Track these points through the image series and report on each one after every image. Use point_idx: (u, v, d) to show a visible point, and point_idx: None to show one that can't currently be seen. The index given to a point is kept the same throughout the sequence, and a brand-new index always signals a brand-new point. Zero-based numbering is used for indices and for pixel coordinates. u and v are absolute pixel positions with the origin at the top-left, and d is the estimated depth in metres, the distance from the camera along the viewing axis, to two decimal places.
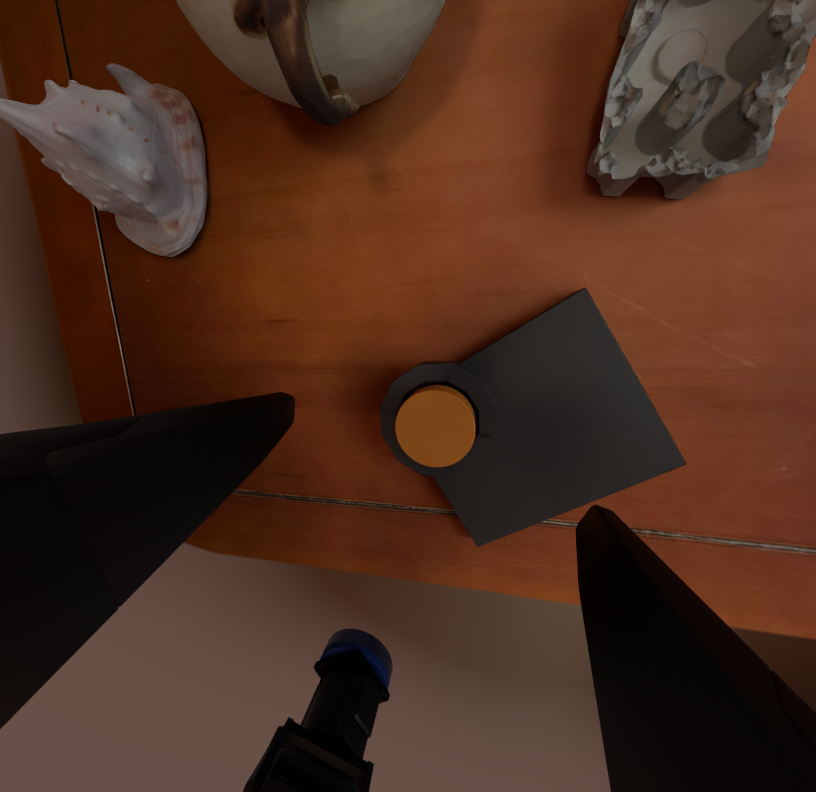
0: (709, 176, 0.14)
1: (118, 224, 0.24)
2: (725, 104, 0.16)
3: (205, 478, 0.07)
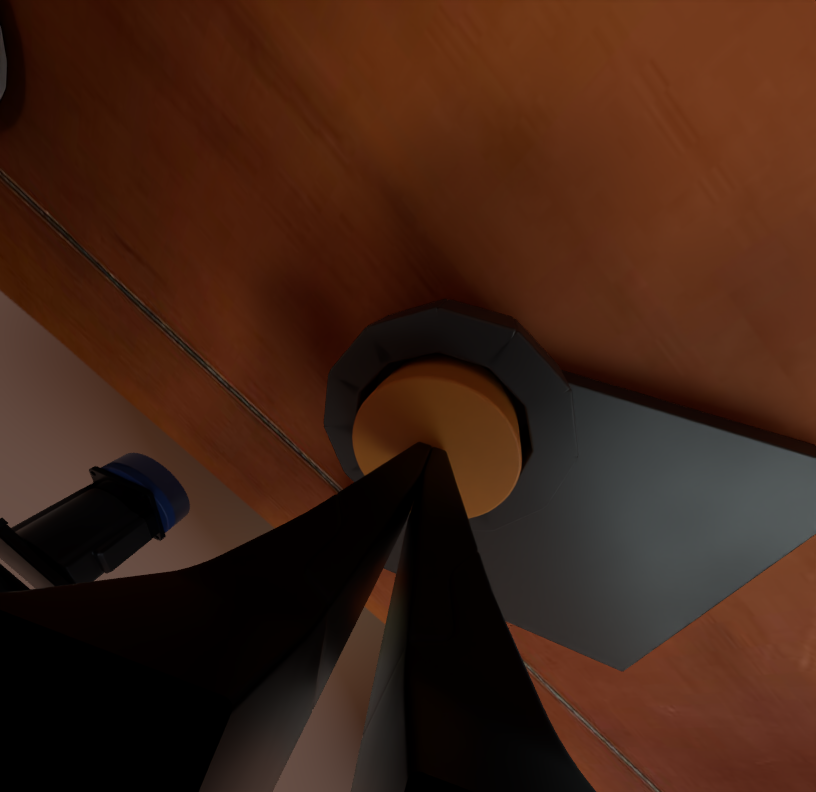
0: None
1: None
2: None
3: (383, 554, 0.06)
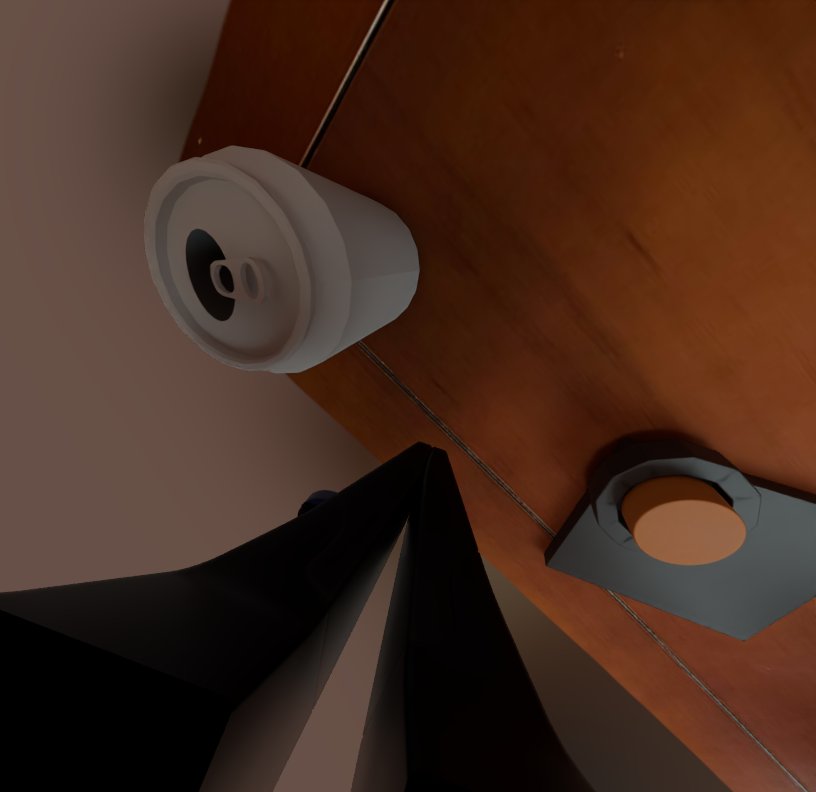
0: None
1: None
2: None
3: (383, 554, 0.06)
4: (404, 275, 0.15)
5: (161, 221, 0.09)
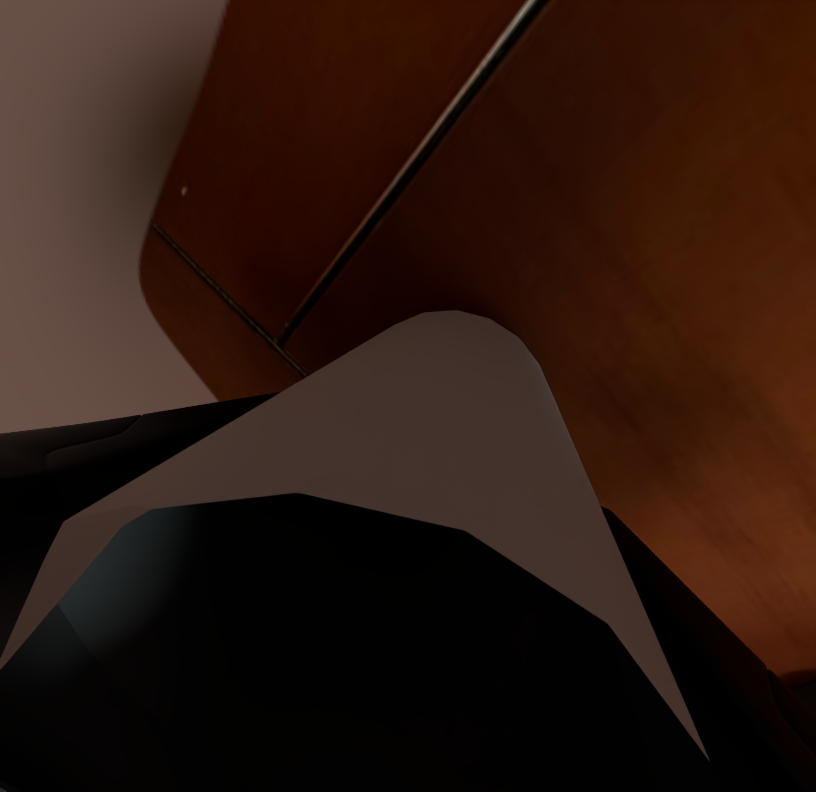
0: None
1: None
2: None
3: None
4: None
5: None
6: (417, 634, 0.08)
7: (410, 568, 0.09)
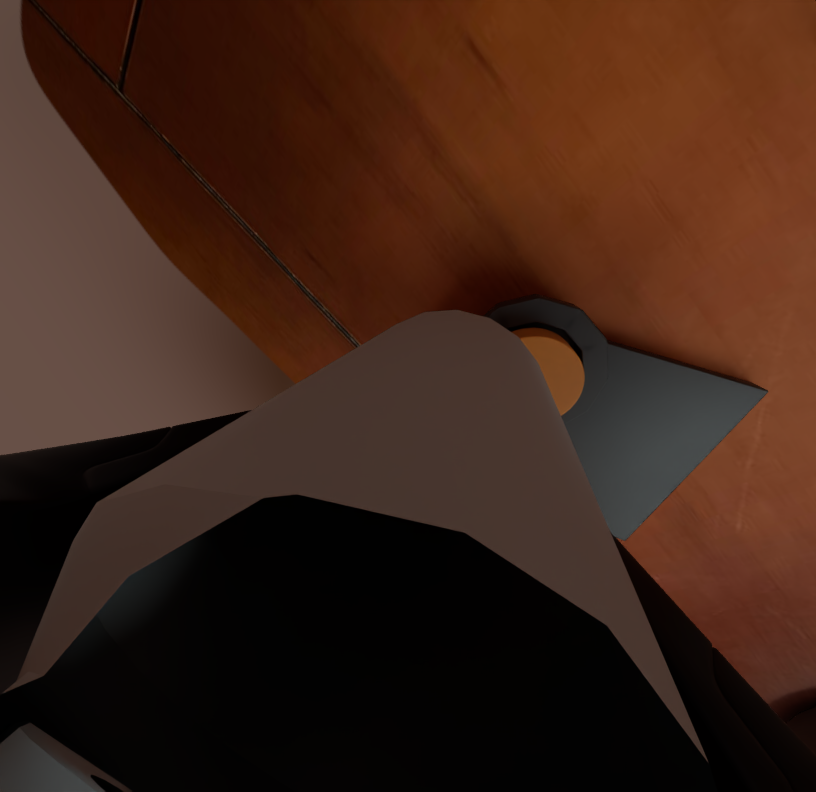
0: None
1: None
2: None
3: None
4: None
5: None
6: (419, 624, 0.08)
7: (412, 562, 0.10)
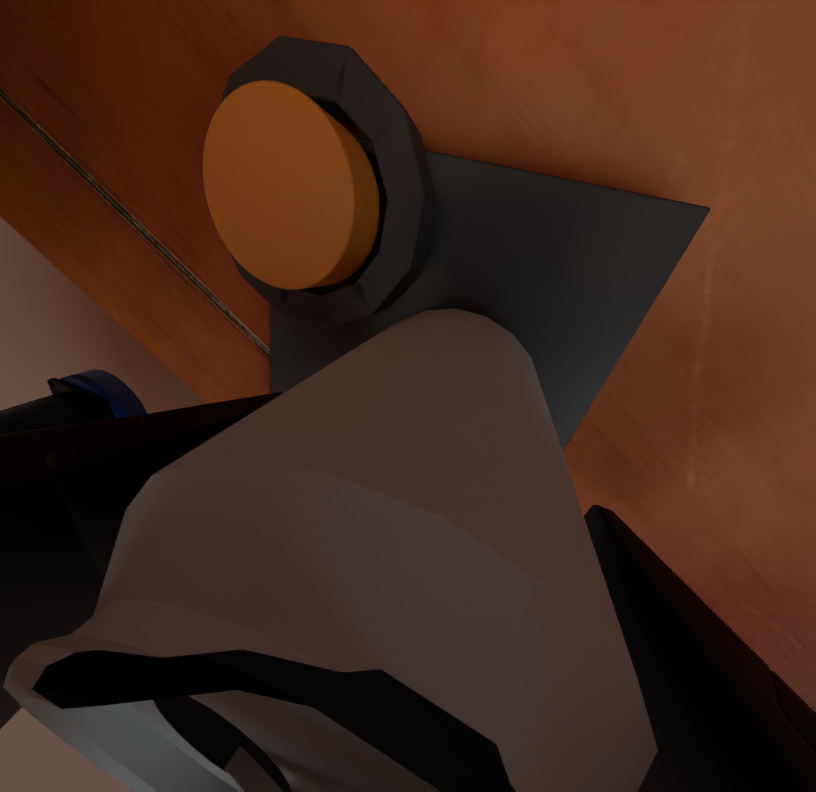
0: None
1: None
2: None
3: None
4: None
5: (69, 672, 0.03)
6: None
7: None
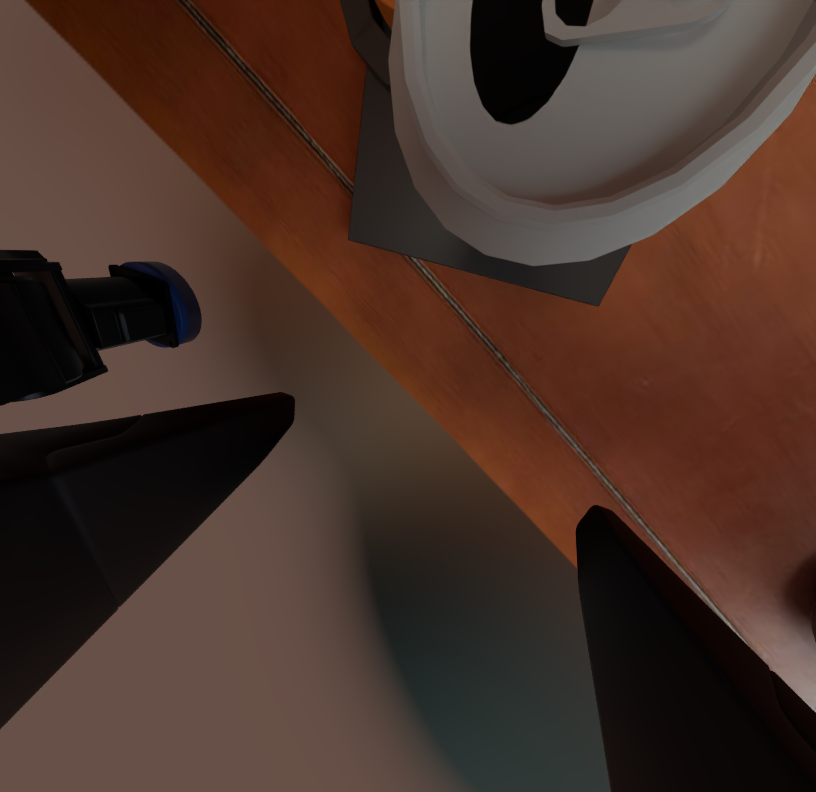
0: None
1: None
2: None
3: (205, 478, 0.07)
4: None
5: None
6: None
7: None
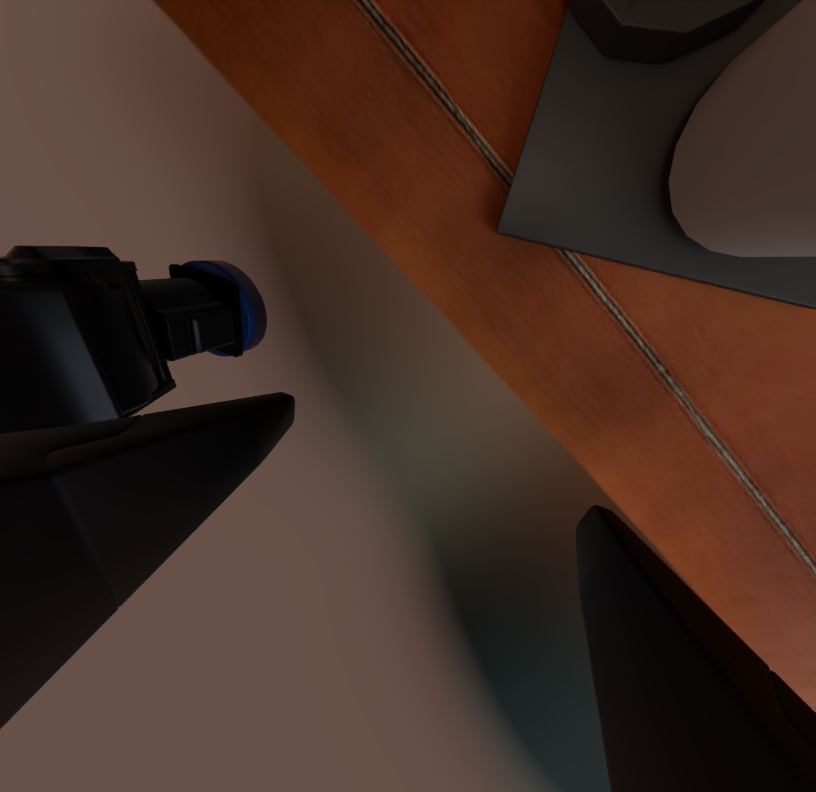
0: None
1: None
2: None
3: (205, 478, 0.07)
4: None
5: None
6: None
7: None
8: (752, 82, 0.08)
